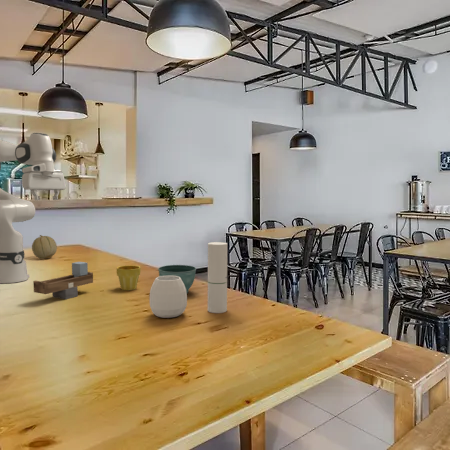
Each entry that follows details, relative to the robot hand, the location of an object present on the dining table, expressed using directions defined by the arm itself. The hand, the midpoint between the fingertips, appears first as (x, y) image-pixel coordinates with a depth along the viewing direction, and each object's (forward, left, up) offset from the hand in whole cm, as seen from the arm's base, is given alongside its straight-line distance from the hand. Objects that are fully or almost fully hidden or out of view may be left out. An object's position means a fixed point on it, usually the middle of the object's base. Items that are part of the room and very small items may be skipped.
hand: (46, 200), depth 188 cm
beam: (+20, -8, -39) cm, 45 cm away
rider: (+20, 0, -33) cm, 39 cm away
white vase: (+72, -7, -40) cm, 83 cm away
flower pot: (+56, +21, -40) cm, 72 cm away
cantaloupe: (-67, +50, -40) cm, 92 cm away
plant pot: (+33, +16, -40) cm, 54 cm away
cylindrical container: (+84, +7, -40) cm, 94 cm away
